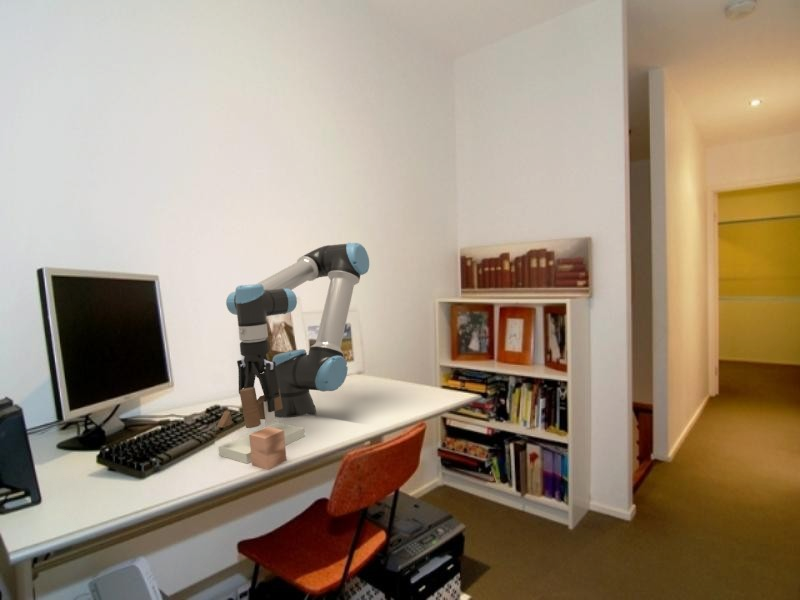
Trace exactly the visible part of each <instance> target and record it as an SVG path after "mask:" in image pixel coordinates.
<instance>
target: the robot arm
mask: <svg viewBox="0 0 800 600" xmlns="http://www.w3.org/2000/svg"><path fill="white" fill-rule="evenodd" d="M369 269H370V258H369V254H368V252H367V250H366V248H365V247H364V246H363V244H362V243H359V242H347V243H341V244H332V245H331V244H330V245H329V244H328V245H323V246H320V247H317V248H315V249H314V250H311V251H309V252H308V253H305V254H304V255H302V256H300V257H298V259H297V260H296V262H294V263H293V264H291V265H289V266H288V267H286V268H284V269H281V270H280V271H278V272H276V273H275V274H272V275H270V276H268V277H267V278H265V279H263V280H261V281H259V282H258V283H255V284H254V283H253V284H241V285H238V286H236V288H235V291H232V292H231V293H229V294H228V295H227V297H226V300H225V304H226V305H225V306H226V308H227V311H229V313H231V314H232V315H235V316H237V317H236V318H237V325H238V337H239V341H241V342H240V343H239V351H240V355H241V356H242V357H243V359H238V360H237V361H236V364H237V367H238V368H237V369H238V394H239V395H240V390H241V389H245V388H250V387H254V388H255V381H256V378H257V379H258V381H259V384H260V387H261V390H262V393H263V395H264V396H265V400H263V401H264V413H265V419H264V420H265V422H264V423H265V424H264V425H267V426H268V425H271V424H273V423H276V418H279V419H280V418H283V419H288V418H296V417H297V418H298V417H301V416H306V415H310V416H316V415H317V407H316V405H315V404H314V400H313V398H312V396H311V393H310V392H311V391H320V392H334V391H336V390H338V389H339V388H341V386H343V384H344V382H345V380H346V378H347V376H348V369H349V368H348V363H347V360H346V358H344V355H345V354H344V352H343V350H342V349H341V347H342V342H343V339H344V338H343V337H344V334H345V330H346V323H347V319H348V315H349V311H350V305H351V302H352V297H353V293H354V287H355V286H356V285H358V284H359V283H360V279H361V276H364V275H366V274H367V273H368V271H369ZM323 277H328V279H329V280H330V282H329V286H328V291H327V295H326V299H325V303H324V307H323V311H322V316H321V320H320V323H319V328H318V331H317V336H316V341H315V343H313V345H310V347H309V350H308V353H307V350H306V349H294V350H289V351H285V352H281V353H277V354H275V355H273V358H272V361H269V359H268V357H267V354H268V353H269V352H270V348H269V340H268V338H269V332H268V322H267V317H271V316H277V315H278V316H279V315H286V314H288V313H289V314H290V313H292V312H294V310H295V309H296V308H297V303H298V300H297V295H296V293H295V292H294V291H293V290H294V289H296V288H298V287H299V286H300V285H302V284H304V283H306V282H312V281H315V280H316V279H319V278H323ZM278 388H279V389H280V394H279V389H278ZM310 390H311V391H310ZM280 395H281V401H282V407H283V408H282V409H280V410H277V411H275V403H274V399H275V398H277V397H279V396H280Z"/></svg>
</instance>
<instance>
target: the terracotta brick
mask: <svg viewBox="0 0 800 600" xmlns="http://www.w3.org/2000/svg"><path fill="white" fill-rule="evenodd" d="M263 428H264V427H263ZM249 438H250V448H251V459H252V462H251V465H252V467H256V468H259V469H262V470H265V471H269V470H270V469H272V468H274V467H277V466H279V465H280V464H282V463H284V462H286V461H287V451H286V445H285V437H284V430H280V429H276V428H271V427H267V428H264V429H262V430H260V431H257V432H255V433H252V434H250V435H249Z"/></svg>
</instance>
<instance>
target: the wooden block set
mask: <svg viewBox="0 0 800 600" xmlns="http://www.w3.org/2000/svg"><path fill="white" fill-rule="evenodd" d="M278 389H279V388H278ZM279 394H280V389H279ZM239 396H240V401H241V408H242V414H243V419H244V425H245V428H246V429H253V428H257V427H259V426H261V425H262V421H261V420H265V413H264V401H263V400H265V396H264V394H263V395H260V396H259V397H258V399H257V392H256V387H255V386H254V387H250V388H245V389H244V388H243V389H241V390H240V394H239ZM274 403H275V411H277V410H280V409H282V408H283V407H282V401H281V395H280V396H279V397H277V398H275V399H274ZM232 419H233V418H232V414H231V411H225V410H224V412H223V413H222V416H221V418H220V419H219V421H218V423H217V425H216V428H225V427H228V426H230V425H231V426H232V425H233V420H232Z"/></svg>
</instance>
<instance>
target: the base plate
mask: <svg viewBox="0 0 800 600" xmlns="http://www.w3.org/2000/svg"><path fill="white" fill-rule="evenodd" d="M267 427H271V428H276V429H280V430H284V437H285V446H287V445H289V444H292V443H293V442H295V441H297V440H299V439H301V438H304V437H305V436H306V435H305V427H301V426H297V425H292V424H287V423H282V422H278V421H275V422H273V423H270V424H268V425H267V426H264V427H262V428H258V429H257V430H254V431H252V432H250V433H246V434H245V435H242V436H239V437H237V438H235V439H232V440H229V441H227V442H225V443H223V444H221V445H218V446H217V447H218V455H219V456H220V457H223V458H227V459H230V460H235V461H237V462H241V463H243V464H250V463H252V459H251V448H250V438H249V435H250V434H252V433H255V432H257V431H260V430H262V429H264V428H267Z"/></svg>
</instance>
